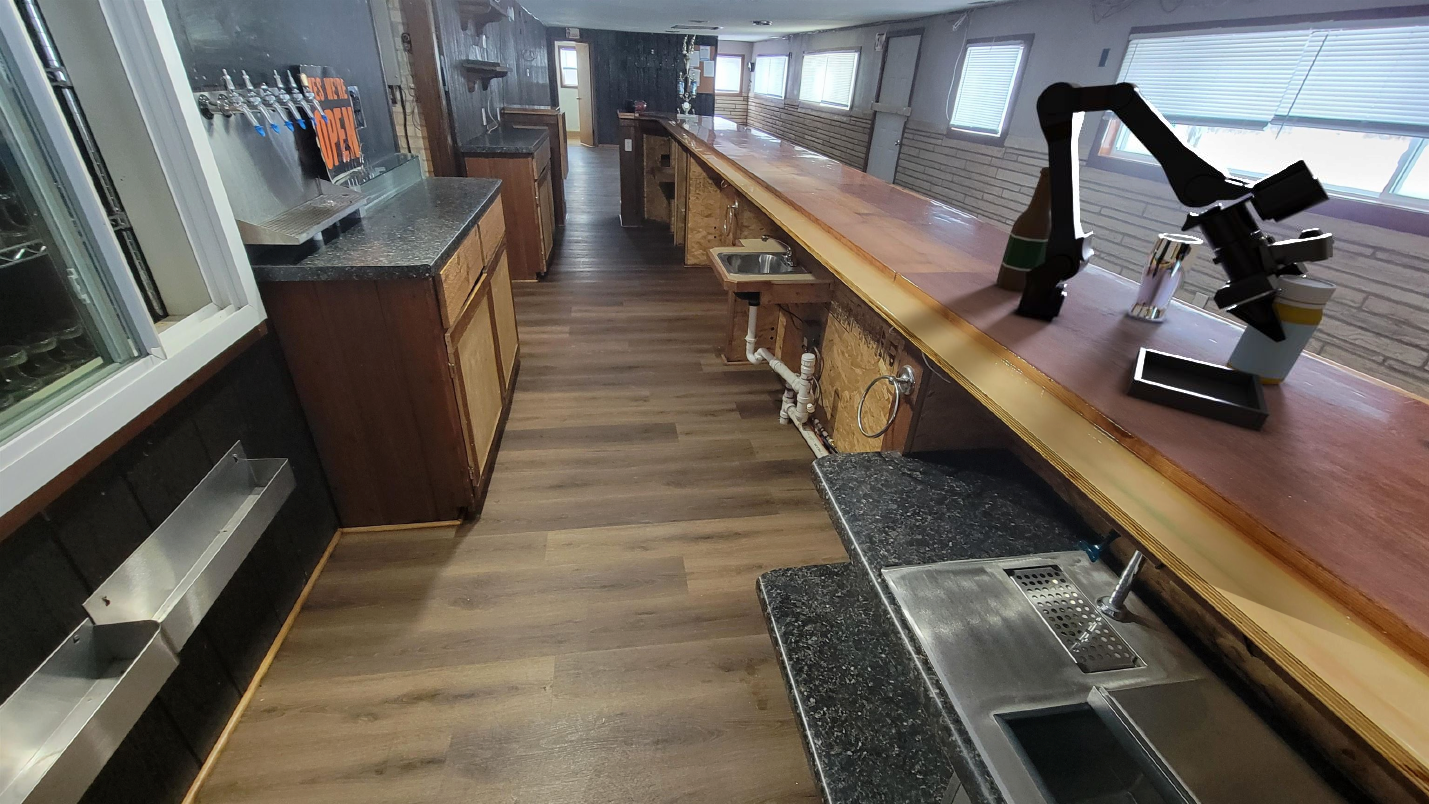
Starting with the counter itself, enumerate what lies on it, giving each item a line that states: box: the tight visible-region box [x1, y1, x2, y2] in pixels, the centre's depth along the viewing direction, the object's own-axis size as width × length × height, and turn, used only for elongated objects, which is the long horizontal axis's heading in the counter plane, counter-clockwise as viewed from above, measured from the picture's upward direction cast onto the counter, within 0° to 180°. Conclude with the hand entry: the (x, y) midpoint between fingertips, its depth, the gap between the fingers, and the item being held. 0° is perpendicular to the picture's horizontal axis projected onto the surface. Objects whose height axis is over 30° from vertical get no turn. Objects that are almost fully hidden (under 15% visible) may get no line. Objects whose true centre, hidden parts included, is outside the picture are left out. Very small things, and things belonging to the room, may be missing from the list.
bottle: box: [1225, 275, 1338, 386], centre depth 83 cm, size 7×7×15 cm
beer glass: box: [1126, 233, 1204, 323], centre depth 105 cm, size 7×7×15 cm
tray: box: [1126, 346, 1270, 432], centre depth 80 cm, size 15×15×2 cm
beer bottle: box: [996, 166, 1051, 293], centre depth 116 cm, size 8×8×24 cm
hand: (1290, 334), depth 82 cm, fingers open, 9 cm apart
